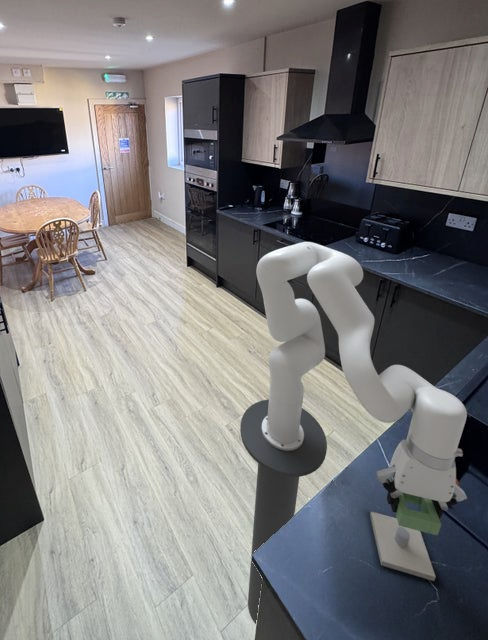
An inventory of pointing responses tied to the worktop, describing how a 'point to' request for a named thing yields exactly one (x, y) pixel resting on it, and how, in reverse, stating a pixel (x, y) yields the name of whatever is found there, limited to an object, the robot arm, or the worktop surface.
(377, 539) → the base pad
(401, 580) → the worktop surface
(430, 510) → the green hollow square block
